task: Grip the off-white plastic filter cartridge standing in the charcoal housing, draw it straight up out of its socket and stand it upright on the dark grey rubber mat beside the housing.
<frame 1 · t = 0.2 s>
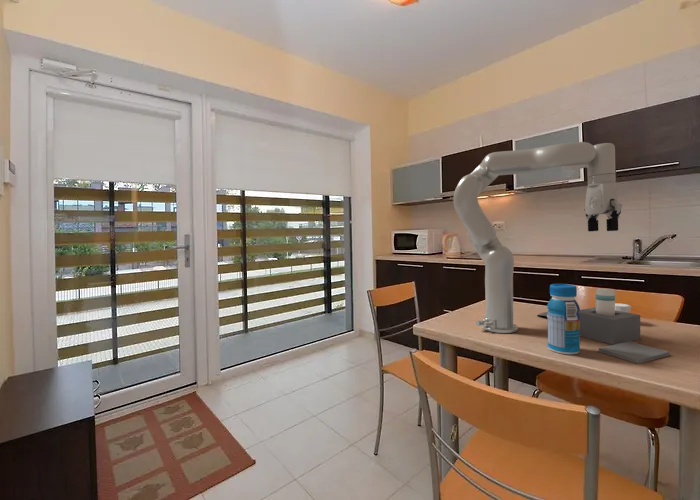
hand: (602, 231, 110), 36 cm above the table, tool pointing down, fingers open, 9 cm apart
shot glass: (618, 323, 123), on the table
beverage bottle: (563, 350, 97), on the table
soupspoon: (556, 323, 126), on the table
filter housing: (605, 336, 108), on the table
filter cartridge: (605, 330, 108), point 2 cm above the table, touching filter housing
rubber mat: (633, 353, 93), on the table
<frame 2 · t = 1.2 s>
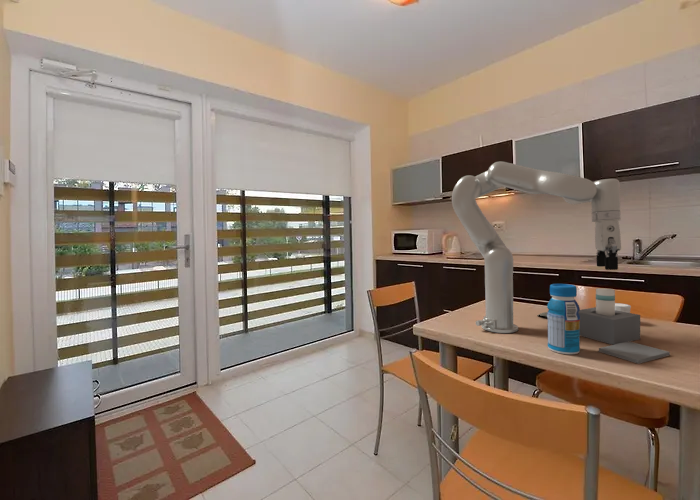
hand: (606, 268, 107), 23 cm above the table, tool pointing down, fingers open, 9 cm apart
nothing on the table moved.
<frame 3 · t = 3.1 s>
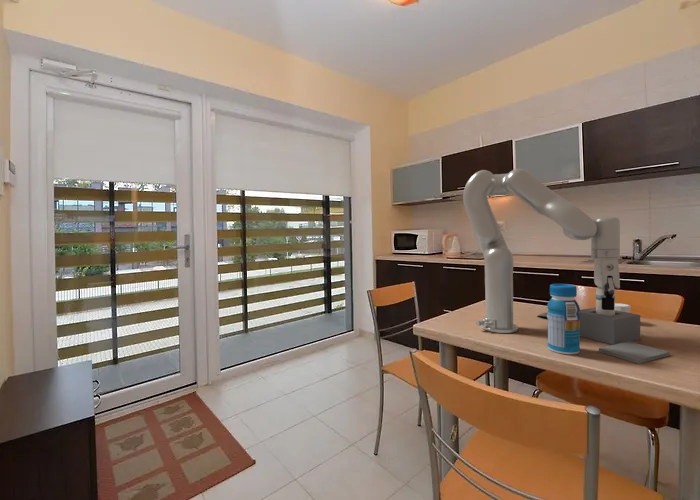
hand: (605, 307, 108), 10 cm above the table, tool pointing down, fingers closed on filter cartridge, 5 cm apart
filter cartridge: (605, 330, 108), point 2 cm above the table, touching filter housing, gripper
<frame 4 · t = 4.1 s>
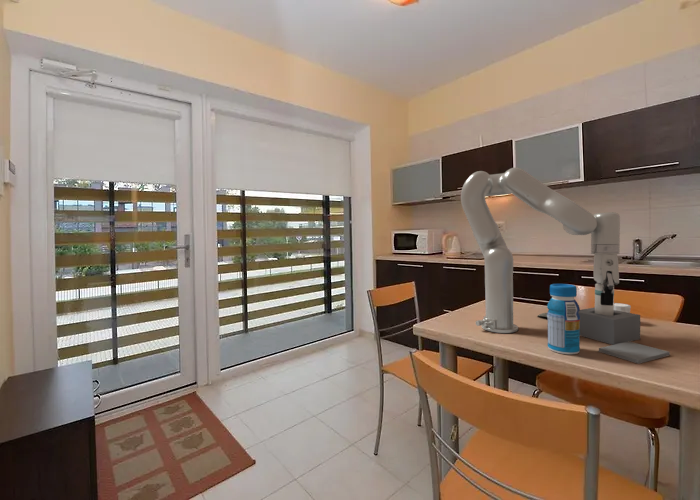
hand: (604, 302, 108), 11 cm above the table, tool pointing down, fingers closed on filter cartridge, 5 cm apart
filter cartridge: (603, 325, 108), point 4 cm above the table, touching gripper
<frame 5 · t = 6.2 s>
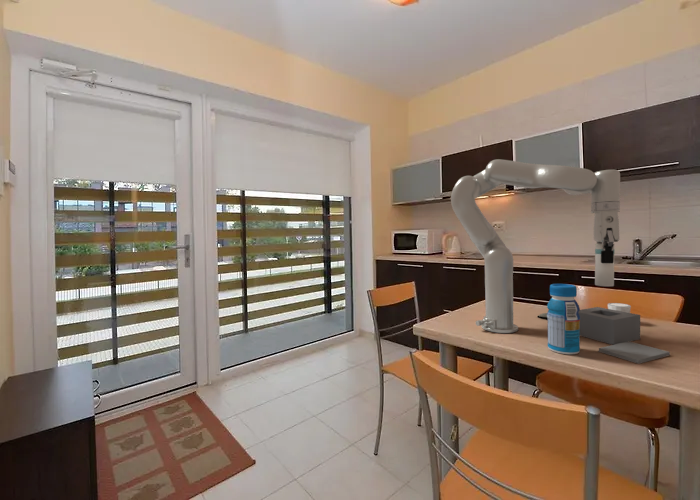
hand: (604, 261, 107), 25 cm above the table, tool pointing down, fingers closed on filter cartridge, 5 cm apart
filter cartridge: (604, 285, 107), point 17 cm above the table, touching gripper
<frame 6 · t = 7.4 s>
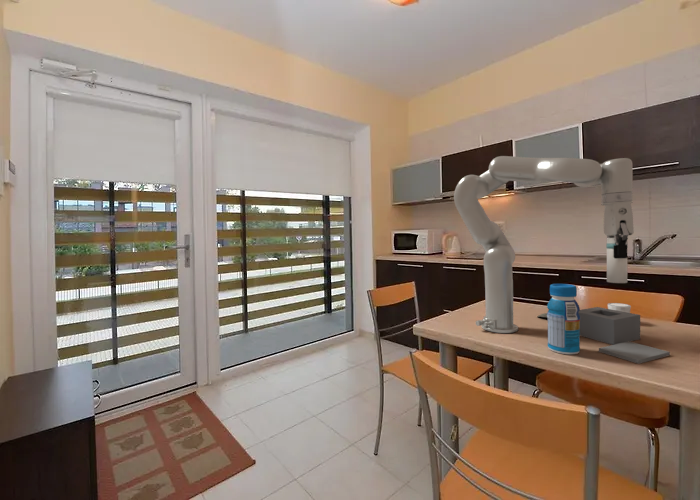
hand: (616, 256, 100), 28 cm above the table, tool pointing down, fingers closed on filter cartridge, 5 cm apart
filter cartridge: (616, 281, 101), point 20 cm above the table, touching gripper
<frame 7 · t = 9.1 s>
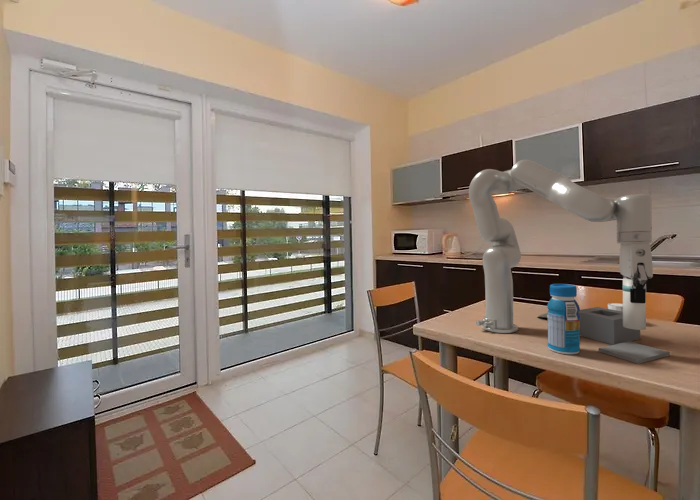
hand: (633, 300, 92), 16 cm above the table, tool pointing down, fingers closed on filter cartridge, 5 cm apart
filter cartridge: (634, 327, 92), point 8 cm above the table, touching gripper
when the fingers open (10 cm above the table, at t = 10.7 s): filter cartridge drops 1 cm, resting on rubber mat.
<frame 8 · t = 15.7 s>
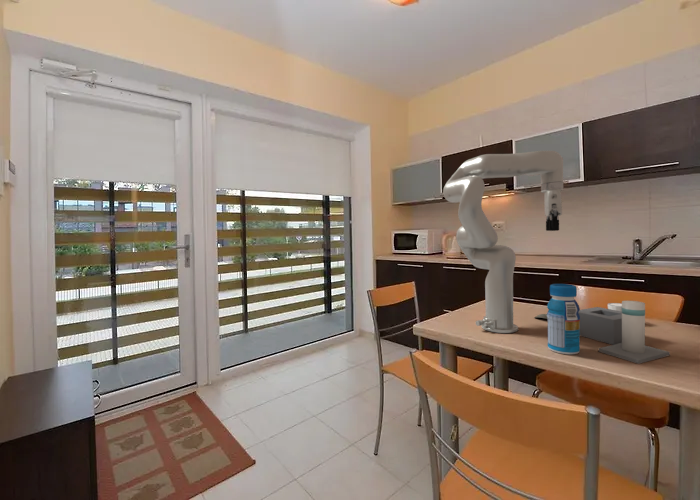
hand: (552, 230, 128), 36 cm above the table, tool pointing down, fingers open, 9 cm apart
soupspoon: (556, 325, 124), on the table
filter cartridge: (633, 349, 93), point 1 cm above the table, touching rubber mat
everything else where it was.
at the end: filter cartridge inside the target area on the rubber mat (0.0 cm from its centre), point 1.0 cm above the rubber mat's base; filter cartridge tilted 0°; the gripper is holding nothing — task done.
